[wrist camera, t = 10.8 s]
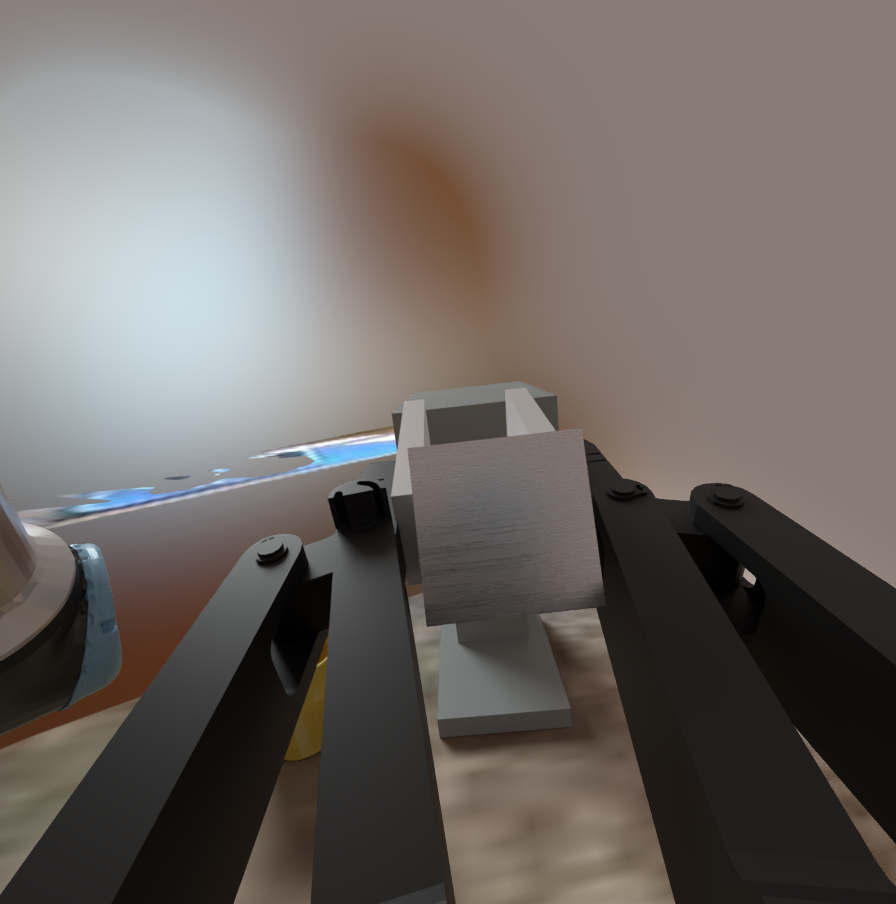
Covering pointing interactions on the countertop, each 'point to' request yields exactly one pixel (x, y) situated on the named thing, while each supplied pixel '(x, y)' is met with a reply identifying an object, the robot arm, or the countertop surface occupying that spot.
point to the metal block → (505, 527)
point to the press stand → (496, 640)
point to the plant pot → (310, 715)
